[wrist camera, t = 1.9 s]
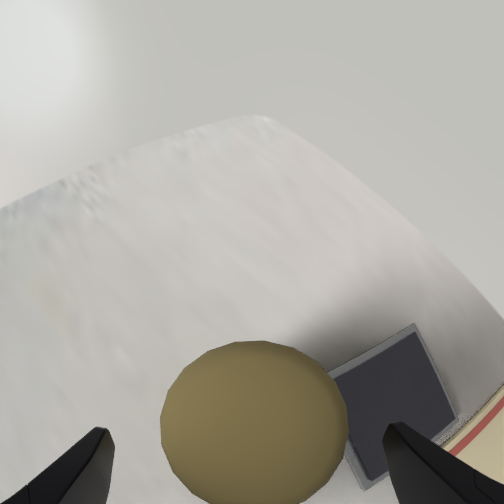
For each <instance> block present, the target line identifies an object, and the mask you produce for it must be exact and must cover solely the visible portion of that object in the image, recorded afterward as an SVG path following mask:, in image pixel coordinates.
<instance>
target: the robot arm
mask: <svg viewBox="0 0 504 504" xmlns="http://www.w3.org/2000/svg"><path fill="white" fill-rule="evenodd" d="M382 445H383V449H384V453H385V457H386V462H387V466H388V470H389V474H390V478H391V481H392V484H393V487H394V490H395V493H396V495H397V498H398V501H399V504H504V484H502V483H500V482H498V481H496V480H494V479H491V478H490V477H488V476H486V475H484V474H483V473H481V472H479V471H478V470H476V469H473V467H471V466H470V465H468V464H466V463H465V462H463V461H462V460H460V459H458V458H457V457H455V456H454V455H452V454H451V453H449V452H448V451H446V450H444V449H443V448H441V447H440V446H438V445H437V444H435V443H434V442H432V441H431V440H429V439H428V438H426V437H425V436H423V435H422V434H420V433H419V432H417V431H416V430H414V429H413V428H411V427H410V426H408V425H407V424H406V423H404V422H402V421H395V422H391V423H390V424H389V425H388V427H387V429H386V431H385V433H384V435H383V438H382ZM114 452H115V445H114V442H113V439H112V437H111V435H110V432H109V430H108V429H107V428H102V427H95V428H93V429H92V430H91V431H90V432H89V433H87V434H86V435H85V436H84V437H83V438H82V439H81V440H79V441H78V442H77V443H76V444H75V445H73V446H72V447H71V448H70V449H69V450H68V451H66V452H65V453H64V454H63V455H62V456H60V457H59V458H58V459H57V460H56V461H55V462H53V463H52V464H51V465H50V466H49V467H47V468H46V469H45V470H44V471H43V472H41V473H40V474H39V475H38V476H37V477H35V478H34V479H33V480H32V481H30V482H29V483H28V485H25V486H24V487H23V488H22V489H21V490H19V491H18V492H17V493H15V494H14V495H13V496H11V497H10V498H8V499H7V500H5V501H4V502H2V503H1V504H106V501H107V497H108V493H109V488H110V482H111V474H112V466H113V459H114Z"/></svg>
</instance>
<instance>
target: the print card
mask: <svg viewBox="0 0 504 504" xmlns="http://www.w3.org/2000/svg"><path fill="white" fill-rule="evenodd" d="M441 448H443V449H444V450H446V451H448V452H449V453H451V454H452V455H454V456H455V457H457V458H458V459H460V460H462V461H463V462H465V463H466V464H468V465H470V466H471V467H473V469H476V470H478V471H479V472H481V473H483V474H484V475H486V476H488V477H490V478H491V479H494V480H496V481H498V482H500V483H502V484H504V385H503V386H502V387H501V388H500V389H499V391H498V392H497V393H496V394H495V395H494V396H493V397H492V398H491V399H490V400H489V402H488V403H487V404H486V405H485V406H484V407H483V408H482V409H481V410H480V411H479V412H478V413H477V414H476V415H475V416H474V417H473V418H472V419H471V420H470V421H469V422H468V423H467V424H466V425H465V426H464V427H463V428H461V429H460V430H459V431H458V432H457V433H456V434H455V435H454V436H453V437H452V438H450V439H449V440H448V441H447V442H446V443H445V444H444V445H442V446H441Z"/></svg>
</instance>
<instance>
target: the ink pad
mask: <svg viewBox="0 0 504 504" xmlns="http://www.w3.org/2000/svg"><path fill="white" fill-rule="evenodd" d="M327 373H328V374H329V375H330V376H331V378H332V379H333V380H334V381H335V382H336V384H337V387H338V389H339V391H340V393H341V395H342V398H343V400H344V402H345V404H346V408H347V418H348V429H349V434H348V438H347V443H346V447H345V451H344V454H345V456H346V458H347V460H348V462H349V464H350V466H351V468H352V470H353V472H354V475H355V477H356V479H357V481H358V483H359V485H360V487H361V489H363V490H367V489H368V488H370V487H371V486H373V485H375V484H376V483H378V482H379V481H381V480H383V479H384V478H386V477H387V476H389V475H390V474H389V470H388V466H387V462H386V457H385V453H384V449H383V445H382V438H383V435H384V433H385V431H386V429H387V427H388V425H389V424H390V423H391V422H395V421H402V422H404V423H406V424H407V425H408V426H410V427H411V428H413V429H414V430H416V431H417V432H419V433H420V434H422V435H423V436H425V437H426V438H428V439H429V440H431V441H432V442H435V441H436V440H437V439H438V438H439V437H441V436H442V435H443V434H444V433H445V432H446V431H448V430H449V429H450V428H451V427H452V426H453V425H454V424H456V423H457V422H458V421H459V419H458V416H457V414H456V412H455V409H454V407H453V404H452V402H451V400H450V397H449V395H448V393H447V391H446V388H445V386H444V384H443V382H442V379H441V377H440V375H439V373H438V371H437V369H436V366H435V364H434V362H433V360H432V358H431V356H430V354H429V352H428V350H427V348H426V346H425V344H424V342H423V340H422V338H421V336H420V334H419V332H418V330H417V328H416V326H415V324H412V325H410V326H409V327H407V328H405V329H404V330H402V331H401V332H399V333H397V334H396V335H394V336H392V337H391V338H389V339H387V340H386V341H384V342H382V343H381V344H379V345H377V346H375V347H374V348H372V349H370V350H368V351H367V352H365V353H363V354H361V355H360V356H358V357H356V358H354V359H352V360H350V361H348V362H347V363H345V364H343V365H341V366H339V367H337V368H335V369H333V370H331V371H329V372H327Z"/></svg>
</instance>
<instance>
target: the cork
mask: <svg viewBox="0 0 504 504" xmlns="http://www.w3.org/2000/svg"><path fill="white" fill-rule="evenodd" d="M160 424H161V444H162V447H163V449H164V452H165V454H166V457H167V459H168V462H169V464H170V466H171V469H172V471H173V473H174V474H175V475H176V476H177V477H178V478H179V479H180V481H181V482H182V483H183V484H184V485H185V486H186V487H187V488H188V489H189V491H190V492H191V493H192V494H194V495H196V496H197V497H199V498H201V499H202V500H204V501H206V502H208V503H209V504H299V503H301V502H304V501H306V500H307V499H308V498H309V497H311V496H312V495H313V494H314V493H316V492H317V491H318V490H319V489H320V488H322V487H323V486H324V485H325V484H326V483H327V482H328V481H329V479H330V478H331V476H332V475H333V473H334V472H335V470H336V469H337V467H338V465H339V464H340V462H341V460H342V459H343V455H344V451H345V447H346V443H347V438H348V434H349V429H348V418H347V408H346V404H345V402H344V400H343V398H342V395H341V393H340V391H339V389H338V387H337V384H336V382H335V381H334V380H333V379H332V378H331V376H330V375H329V374H328V373H327V372H326V371H325V370H324V369H323V368H322V367H321V366H320V364H319V363H318V362H317V361H315V360H313V359H311V358H310V357H308V356H306V355H305V354H303V353H301V352H299V351H298V350H296V349H294V348H292V347H288V346H284V345H280V344H276V343H271V342H267V341H246V342H233V343H230V344H227V345H225V346H222V347H219V348H216V349H213V350H210V351H207V352H206V353H205V354H203V355H202V356H200V357H199V358H198V359H196V360H195V361H194V362H192V363H191V364H189V365H188V366H187V367H185V368H184V370H183V371H182V372H181V374H180V375H179V376H178V378H177V379H176V381H175V382H174V383H173V385H172V386H171V387H170V389H169V390H168V393H167V396H166V399H165V403H164V406H163V409H162V413H161V416H160Z"/></svg>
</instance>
